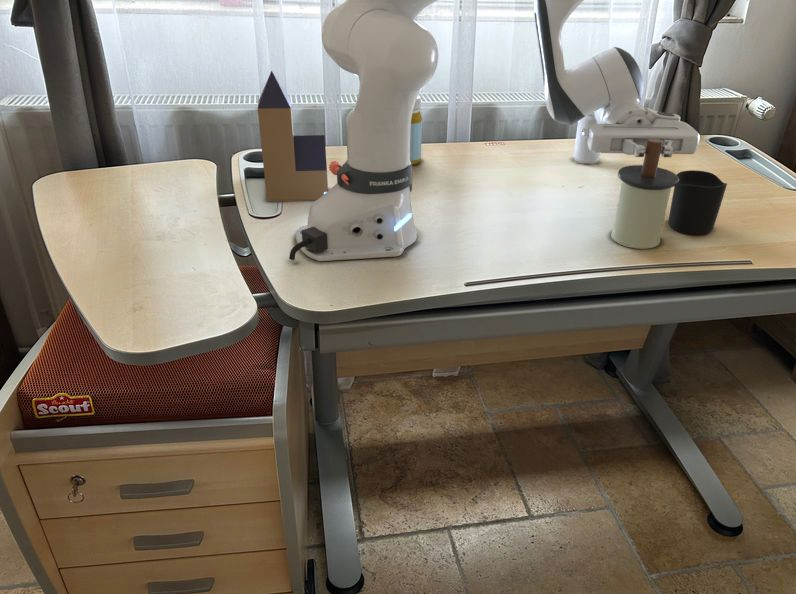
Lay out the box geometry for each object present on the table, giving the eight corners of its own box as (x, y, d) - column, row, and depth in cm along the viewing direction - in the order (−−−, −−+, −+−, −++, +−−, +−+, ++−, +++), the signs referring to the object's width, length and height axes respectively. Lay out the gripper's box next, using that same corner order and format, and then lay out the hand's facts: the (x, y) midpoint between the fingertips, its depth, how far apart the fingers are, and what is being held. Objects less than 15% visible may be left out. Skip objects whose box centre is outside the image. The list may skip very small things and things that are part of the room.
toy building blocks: (267, 201, 147) (254, 74, 134) (269, 170, 163) (257, 53, 149) (328, 199, 149) (321, 74, 136) (324, 168, 165) (318, 53, 151)
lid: (641, 192, 125) (649, 152, 121) (606, 171, 134) (612, 134, 130) (690, 185, 129) (699, 146, 125) (653, 165, 137) (660, 129, 133)
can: (661, 251, 133) (675, 189, 127) (610, 245, 135) (622, 184, 128) (658, 231, 141) (671, 172, 134) (610, 226, 142) (621, 167, 136)
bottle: (425, 164, 169) (426, 99, 161) (397, 167, 167) (397, 101, 159) (414, 155, 175) (416, 91, 166) (387, 157, 172) (387, 93, 164)
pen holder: (719, 224, 145) (732, 176, 139) (708, 240, 138) (721, 191, 133) (672, 214, 149) (683, 167, 143) (660, 229, 142) (670, 180, 136)
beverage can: (568, 157, 177) (574, 107, 170) (591, 155, 179) (599, 106, 172) (580, 165, 172) (587, 115, 165) (603, 164, 174) (612, 113, 167)
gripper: (581, 112, 137) (600, 134, 125) (686, 114, 138) (713, 136, 127) (577, 145, 140) (594, 169, 129) (679, 146, 142) (705, 170, 130)
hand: (654, 153), depth 128 cm, fingers open, 4 cm apart
